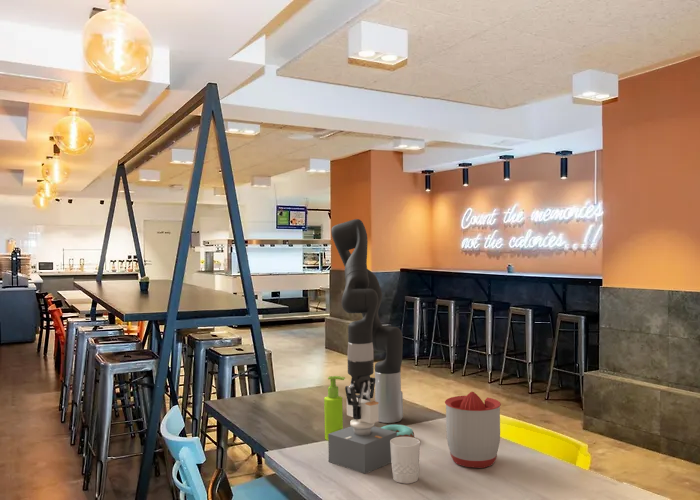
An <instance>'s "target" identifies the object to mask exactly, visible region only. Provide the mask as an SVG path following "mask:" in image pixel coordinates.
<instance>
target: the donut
mask: <svg viewBox="0 0 700 500" xmlns="http://www.w3.org/2000/svg"><path fill="white" fill-rule="evenodd" d="M380 428H383V429H387V430H390V431H394V432H397V437H413V438H415V432H414V430H413V429H412V428H411V427H409V426H407V425H404V424H387V425H383V426H381V427H380Z"/></svg>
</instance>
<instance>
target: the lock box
mask: <svg viewBox="0 0 700 500" xmlns="http://www.w3.org/2000/svg"><path fill="white" fill-rule="evenodd" d="M396 437H397V432H394V431H390V430H387V429H383V428H381V427H379V426H376V425H374V427H372V428H367V429H357V428H353V427H351V426H348V427H343V429H341V430H338V431H335V432H332V433H330V434H328V440H327V441H328V444H327V445H328V447H327V448H328V462H329V463H331V464H335V465H337V466H341V467H344V468H346V469H349V470H352V471H354V472H358V473H361V474H368V473H370V472H372V471H375V470H377V469H380V468H382V467H384V466H387V465H388V464H392V463H391V449H390V440H391V439H393V438H396Z"/></svg>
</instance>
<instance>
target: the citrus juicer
mask: <svg viewBox="0 0 700 500" xmlns="http://www.w3.org/2000/svg"><path fill="white" fill-rule="evenodd" d="M444 403H445V411H446V412H445V423H446V424H445V426H446V428H445V429H446V440H447V445H448V449H449V454H450V456H451V459H452V460H453V462H454V463H455V464H457V465H458V466H462V467H466V468H479V469H485V468H487V467H490V466H492V465H494V464H495V461H496V459H497V457H498V452H499V447H500V443H501V442H500V441H501V401H499V400H497V399H495V398H493V397H486V398H485V400H484V402H483V400H482V398H481V397H480V396H479V395H478V394H477V393H475V391H470V392H469V393H468V394H467V395H457V396H451V397H449V398H447V399H445V401H444Z"/></svg>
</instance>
